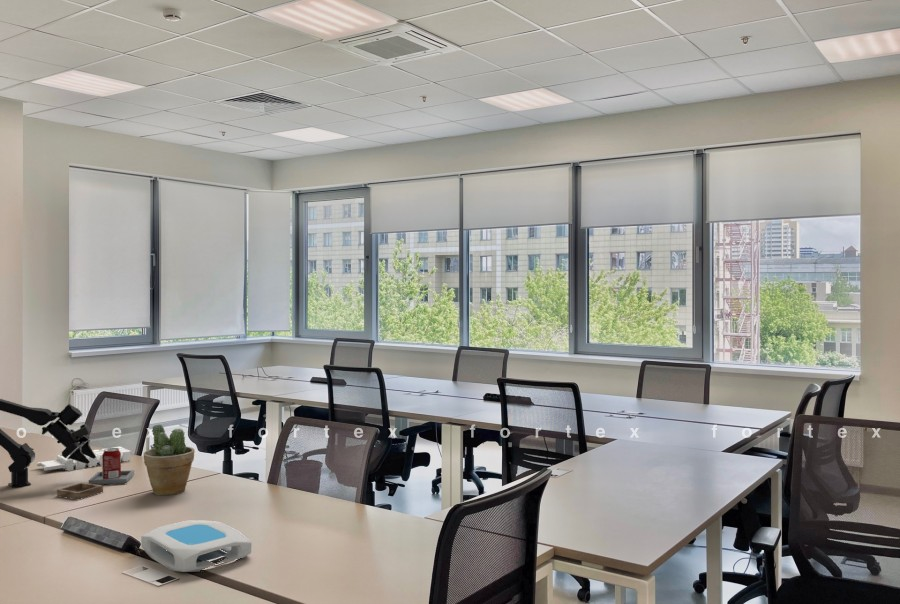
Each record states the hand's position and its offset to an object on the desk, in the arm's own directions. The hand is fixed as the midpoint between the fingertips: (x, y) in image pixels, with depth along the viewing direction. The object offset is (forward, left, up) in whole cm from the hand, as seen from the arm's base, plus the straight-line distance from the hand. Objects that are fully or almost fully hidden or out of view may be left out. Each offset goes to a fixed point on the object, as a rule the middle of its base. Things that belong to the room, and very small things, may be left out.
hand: (92, 460), depth 294 cm
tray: (+4, +6, -8) cm, 11 cm away
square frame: (+17, -10, -8) cm, 21 cm away
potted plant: (+36, +16, -9) cm, 40 cm away
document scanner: (+106, -6, -9) cm, 106 cm away
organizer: (-31, +7, -9) cm, 33 cm away
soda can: (+4, +6, -8) cm, 11 cm away
